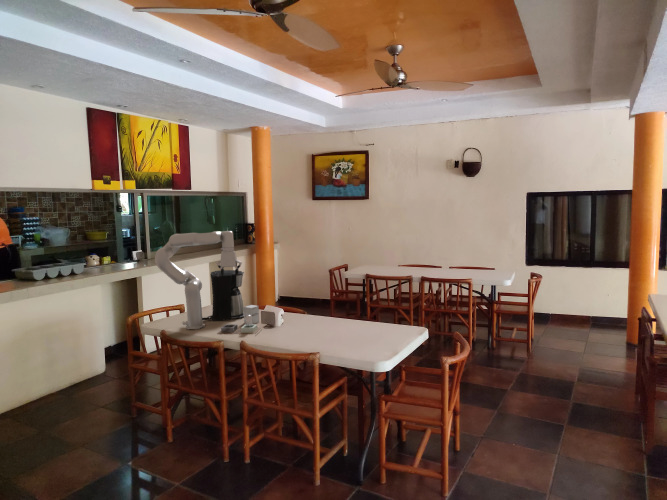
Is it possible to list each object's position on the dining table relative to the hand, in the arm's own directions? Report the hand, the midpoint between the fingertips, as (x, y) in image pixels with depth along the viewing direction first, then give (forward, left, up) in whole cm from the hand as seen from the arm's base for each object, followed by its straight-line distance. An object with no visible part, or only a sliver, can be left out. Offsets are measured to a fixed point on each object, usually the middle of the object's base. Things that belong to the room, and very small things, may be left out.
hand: (229, 274), depth 314 cm
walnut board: (+11, -19, -34) cm, 41 cm away
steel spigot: (+17, -19, -33) cm, 42 cm away
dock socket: (+18, -19, -33) cm, 42 cm away
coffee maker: (-15, +22, -35) cm, 44 cm away
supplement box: (+13, +1, -35) cm, 37 cm away
